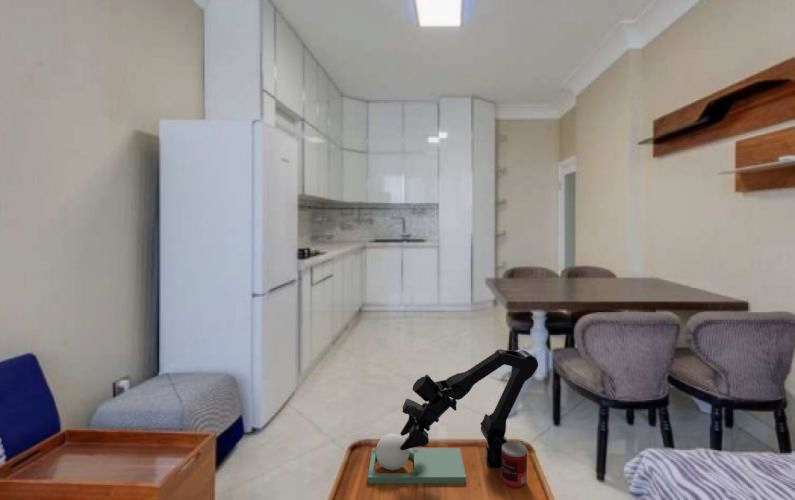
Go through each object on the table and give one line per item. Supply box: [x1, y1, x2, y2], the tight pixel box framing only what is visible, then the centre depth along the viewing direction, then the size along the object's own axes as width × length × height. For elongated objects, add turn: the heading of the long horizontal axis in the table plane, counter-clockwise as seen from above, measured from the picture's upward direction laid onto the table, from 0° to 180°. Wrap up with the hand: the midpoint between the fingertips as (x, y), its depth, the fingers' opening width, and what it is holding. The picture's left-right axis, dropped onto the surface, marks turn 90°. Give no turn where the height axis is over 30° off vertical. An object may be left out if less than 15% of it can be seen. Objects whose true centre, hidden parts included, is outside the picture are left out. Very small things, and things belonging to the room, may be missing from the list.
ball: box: [376, 433, 410, 471], centre depth 150 cm, size 11×11×11 cm
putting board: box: [367, 447, 467, 484], centre depth 150 cm, size 31×17×2 cm, turn 89°
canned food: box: [500, 441, 528, 489], centre depth 142 cm, size 8×8×11 cm
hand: (401, 441), depth 150 cm, fingers open, 9 cm apart
